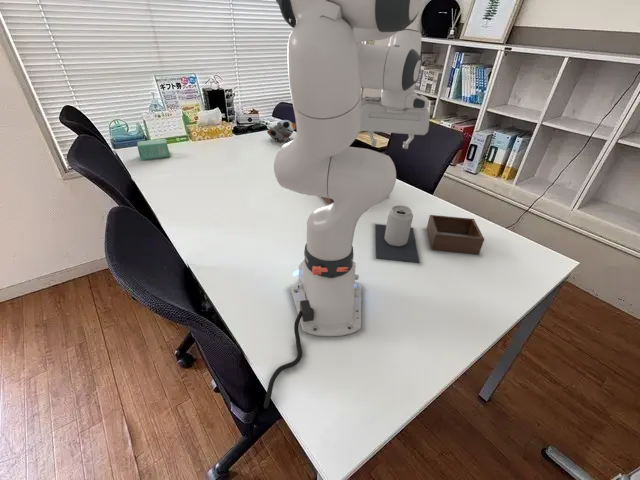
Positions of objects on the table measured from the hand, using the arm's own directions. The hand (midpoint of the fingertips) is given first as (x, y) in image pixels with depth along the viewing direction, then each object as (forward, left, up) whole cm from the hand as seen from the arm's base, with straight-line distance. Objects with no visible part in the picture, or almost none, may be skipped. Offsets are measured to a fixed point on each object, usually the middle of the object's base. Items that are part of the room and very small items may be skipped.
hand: (389, 147), depth 99 cm
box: (+71, +98, -29) cm, 124 cm away
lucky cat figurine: (+102, +35, -29) cm, 111 cm away
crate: (-9, -23, -29) cm, 38 cm away
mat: (-9, -4, -29) cm, 30 cm away
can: (-9, -4, -29) cm, 30 cm away
